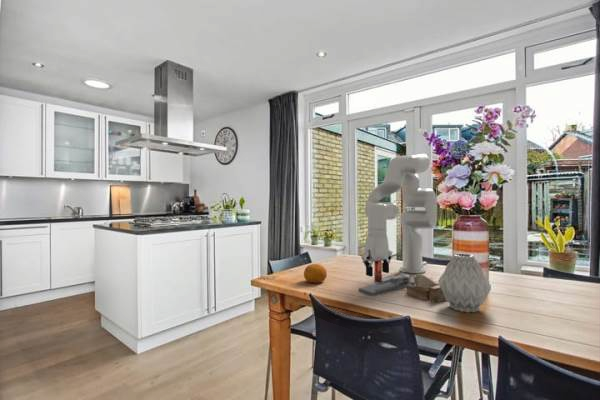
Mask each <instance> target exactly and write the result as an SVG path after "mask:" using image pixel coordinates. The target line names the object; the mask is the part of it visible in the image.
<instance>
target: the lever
mask: <svg viewBox="0 0 600 400" xmlns="http://www.w3.org/2000/svg"><path fill="white" fill-rule="evenodd" d="M382 262H383V261H382V260H380V261H374V262H373V266H374V267H373V269H374V270H373V277H374V281H373V282H374V283H373V285H374V284H377V285H381V284H385V283H389V282H391V284H395V285H396V284H400V283H403V279H409V278H411V277H410V273H399V274H398V275H394V276H389V277H385V278H383V272H382Z"/></svg>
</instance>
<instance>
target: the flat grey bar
mask: <svg viewBox="0 0 600 400" xmlns="http://www.w3.org/2000/svg"><path fill="white" fill-rule="evenodd" d="M410 278H411V277H410ZM410 278H409V279H403V283H400V284H396V285H395V284H391V282H389V283H385V284H381V285H377V284H374V283H373V284H370V285H366V286H362V287H358V292H360V293H363V294H366V295H369V296H372V297H374V296H377V295H378V294H379V295H381V294H382V293H383V294H386V293H389V292H394V291H398V290H401V289H404V288H406V285H409V284H410V285H414V286H415V281H412V280H411V279H410ZM383 294H382V295H383Z"/></svg>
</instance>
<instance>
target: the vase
mask: <svg viewBox="0 0 600 400" xmlns="http://www.w3.org/2000/svg"><path fill="white" fill-rule="evenodd" d="M437 283H439V285H440V287H441V290H442V291H443V294H444V296H445V298H446V299H445V300H446V301H447V302H448V303H449V306H450V308H452V309H454V311H459V312H465V313H475V312H479V309H480V307H481V306H483V304H484V303H485V302H486V299H487V297H488V295H489V294H490V292H491V290H492V285H491V283H490V282H489V280H488V278H487V277H486V276H485V274H484V271H483V269H482V266H481V265H480V264H479V263H478V260H477V259H476V258H475V255H474V254H473V255H472V254H469V253H455V254H454V253H453V255H452V257H451V258H450V261H449V262H448V263H447V264H446V266H445V268H444V272H443V273H442V275H441V276H440V277H439V279H438V281H437Z"/></svg>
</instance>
